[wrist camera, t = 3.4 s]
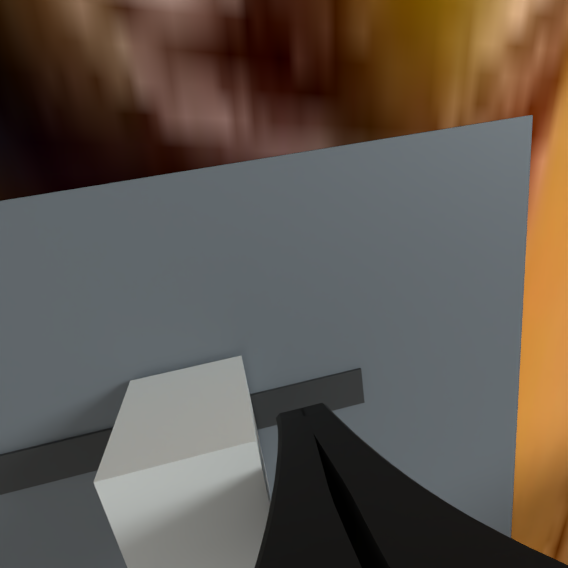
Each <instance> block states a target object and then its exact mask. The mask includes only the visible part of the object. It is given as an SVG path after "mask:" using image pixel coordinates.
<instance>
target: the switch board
mask: <svg viewBox="0 0 568 568" xmlns="http://www.w3.org/2000/svg"><path fill="white" fill-rule="evenodd" d="M532 117H533V115H529V116H523V117H516V118H510V119H503V120H497V121H491V122H485V123H479V124H473V125H466V126H460V127H454V128H448V129H442V130H436V131H429V132H423V133H417V134H411V135H405V136H398V137H392V138H386V139H380V140H374V141H368V142H361V143H355V144H349V145H343V146H337V147H330V148H324V149H318V150H312V151H306V152H300V153H293V154H287V155H281V156H275V157H269V158H263V159H256V160H250V161H244V162H238V163H232V164H225V165H219V166H213V167H207V168H201V169H195V170H188V171H182V172H176V173H170V174H164V175H158V176H151V177H145V178H139V179H133V180H127V181H120V182H114V183H108V184H102V185H96V186H90V187H83V188H77V189H71V190H65V191H59V192H53V193H46V194H40V195H34V196H28V197H22V198H16V199H9V200H3V201H0V568H127V565H126V563H125V560H124V558H123V555H122V553H121V550H120V548H119V545H118V543H117V540H116V538H115V535H114V533H113V530H112V528H111V525H110V523H109V520H108V518H107V515H106V513H105V510H104V508H103V505H102V503H101V500H100V498H99V495H98V493H97V490H96V488H95V485H94V483H93V482H94V479H95V477H96V474H97V471H98V468H99V466H100V463H101V460H102V457H103V455H104V452H105V449H106V446H107V444H108V441H109V438H110V435H111V432H112V430H113V427H114V424H115V421H116V419H117V416H118V413H119V410H120V408H121V405H122V402H123V399H124V397H125V394H126V391H127V388H128V386H129V383H130V381H131V380H135V379H140V378H144V377H149V376H153V375H157V374H162V373H166V372H171V371H175V370H180V369H184V368H188V367H193V366H197V365H202V364H206V363H210V362H215V361H219V360H224V359H228V358H232V357H237V356H242V361H243V365H244V370H245V375H246V380H247V384H248V389H249V394H250V398H251V403H252V408H253V413H254V417H255V422H256V427H257V431H258V436H259V441H260V446H261V450H262V455H263V460H264V464H265V469H266V475H267V480H268V485H269V491H270V496H271V497H272V492H273V486H274V480H275V472H276V462H277V453H278V427H277V422H276V417H277V416H278V415H279V413H283V412H287V411H291V410H295V409H299V408H303V407H307V406H311V405H315V404H319V403H324V404H325V405H327V406H328V407H329V408H330V409H331V411H332V412H333V413H334V414H335V415H336V416H337V417H338V418H339V419H340V420H341V421H342V422H344V423H345V424H346V425H347V426H348V427H349V428H350V429H351V430H352V431H353V432H354V433H355V434H356V435H358V436H359V437H360V438H361V439H362V440H363V441H364V442H366V443H367V444H368V445H369V446H370V447H372V448H373V449H374V450H375V451H376V452H377V453H379V454H380V455H381V456H382V457H384V458H385V459H386V460H387V461H389V462H390V463H391V464H392V465H394V466H395V467H396V468H398V469H399V470H400V471H402V472H403V473H404V474H406V475H407V476H408V477H410V478H411V479H413V480H414V481H416V482H417V483H418V484H420V485H421V486H423V487H424V488H426V489H427V490H429V491H430V492H432V493H433V494H435V495H436V496H438V497H439V498H441V499H443V500H444V501H446V502H447V503H449V504H450V505H452V506H454V507H455V508H457V509H459V510H460V511H462V512H464V513H465V514H467V515H469V516H471V517H472V518H474V519H476V520H478V521H480V522H481V523H483V524H485V525H487V526H489V527H491V528H493V529H495V530H497V531H498V532H500V533H502V534H504V535H506V536H508V537H510V538H511V527H512V508H513V488H514V469H515V449H516V430H517V410H518V391H519V371H520V352H521V332H522V313H523V293H524V274H525V254H526V235H527V215H528V196H529V176H530V156H531V137H532Z"/></svg>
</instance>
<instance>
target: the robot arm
mask: <svg viewBox="0 0 568 568" xmlns="http://www.w3.org/2000/svg"><path fill="white" fill-rule="evenodd" d="M276 422H277V427H278V453H277V462H276V472H275V480H274V486H273V492H272V497H271V503H270V508H269V513H268V518H267V522H266V527H265V531H264V535H263V539H262V543H261V546H260V550H259V554H258V558H257V561H256V564H255V568H568V565H566V564H564V563H562V562H559V561H557V560H555V559H553V558H551V557H549V556H546V555H544V554H542V553H540V552H538V551H536V550H534V549H531V548H529V547H527V546H525V545H523V544H521V543H519V542H517V541H515V540H514V539H512V538H510V537H508V536H506V535H504V534H502V533H500V532H498V531H497V530H495V529H493V528H491V527H489V526H487V525H485V524H483V523H481V522H480V521H478V520H476V519H474V518H472V517H471V516H469V515H467V514H465V513H464V512H462V511H460V510H459V509H457V508H455V507H454V506H452V505H450V504H449V503H447V502H446V501H444V500H443V499H441V498H439V497H438V496H436V495H435V494H433V493H432V492H430V491H429V490H427V489H426V488H424V487H423V486H421V485H420V484H418V483H417V482H416V481H414V480H413V479H411V478H410V477H408V476H407V475H406V474H404V473H403V472H402V471H400V470H399V469H398V468H396V467H395V466H394V465H392V464H391V463H390V462H389V461H387V460H386V459H385V458H384V457H382V456H381V455H380V454H379V453H377V452H376V451H375V450H374V449H373V448H372V447H370V446H369V445H368V444H367V443H366V442H364V441H363V440H362V439H361V438H360V437H359V436H358V435H356V434H355V433H354V432H353V431H352V430H351V429H350V428H349V427H348V426H347V425H346V424H345V423H344V422H342V421H341V420H340V419H339V418H338V417H337V416H336V415H335V414H334V413H333V412H332V411H331V409H330V408H329V407H328V406H327V405H325V404H324V403H319V404H315V405H311V406H307V407H303V408H299V409H295V410H291V411H287V412H283V413H279V415H278V416H277V417H276Z"/></svg>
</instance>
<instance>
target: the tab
mask: <svg viewBox="0 0 568 568" xmlns="http://www.w3.org/2000/svg"><path fill="white" fill-rule="evenodd" d="M93 483H94V485H95V488H96V490H97V493H98V495H99V498H100V500H101V503H102V505H103V508H104V510H105V513H106V515H107V518H108V520H109V523H110V525H111V528H112V530H113V533H114V535H115V538H116V540H117V543H118V545H119V548H120V550H121V553H122V555H123V558H124V560H125V563H126V565H127V568H255V564H256V561H257V558H258V554H259V550H260V546H261V543H262V539H263V535H264V531H265V527H266V522H267V518H268V513H269V508H270V503H271V496H270V491H269V485H268V480H267V475H266V469H265V464H264V460H263V455H262V450H261V446H260V441H259V436H258V431H257V427H256V422H255V417H254V413H253V408H252V403H251V398H250V394H249V389H248V384H247V380H246V375H245V370H244V365H243V361H242V356H237V357H232V358H228V359H224V360H219V361H215V362H210V363H206V364H202V365H197V366H193V367H188V368H184V369H180V370H175V371H171V372H166V373H162V374H157V375H153V376H149V377H144V378H140V379H135V380H131V381H130V383H129V386H128V388H127V391H126V394H125V397H124V399H123V402H122V405H121V408H120V410H119V413H118V416H117V419H116V421H115V424H114V427H113V430H112V432H111V435H110V438H109V441H108V444H107V446H106V449H105V452H104V455H103V457H102V460H101V463H100V466H99V468H98V471H97V474H96V477H95V479H94V482H93Z"/></svg>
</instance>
